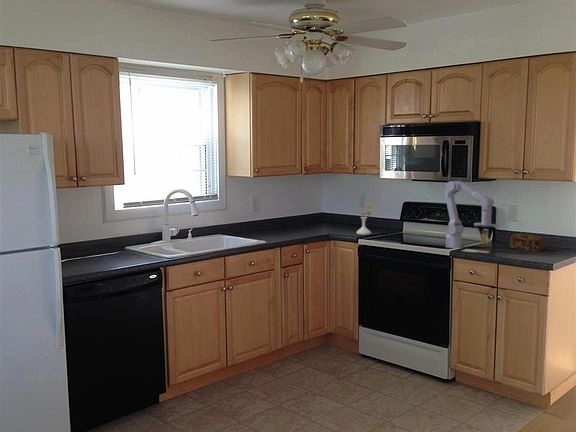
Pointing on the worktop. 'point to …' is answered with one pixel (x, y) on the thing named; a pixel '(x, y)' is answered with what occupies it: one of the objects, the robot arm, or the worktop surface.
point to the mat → (470, 250)
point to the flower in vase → (363, 229)
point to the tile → (484, 251)
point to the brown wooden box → (485, 236)
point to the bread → (526, 242)
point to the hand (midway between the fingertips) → (485, 238)
